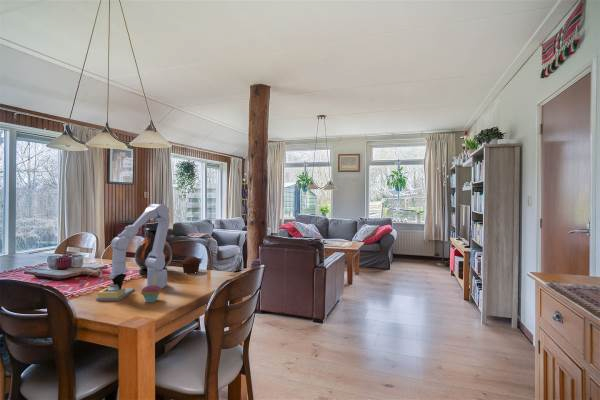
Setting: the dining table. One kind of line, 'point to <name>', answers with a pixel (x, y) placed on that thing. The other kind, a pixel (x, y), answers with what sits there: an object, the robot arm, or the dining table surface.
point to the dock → (113, 294)
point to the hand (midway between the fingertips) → (118, 289)
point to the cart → (113, 288)
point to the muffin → (191, 264)
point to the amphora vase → (147, 247)
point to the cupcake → (151, 292)
